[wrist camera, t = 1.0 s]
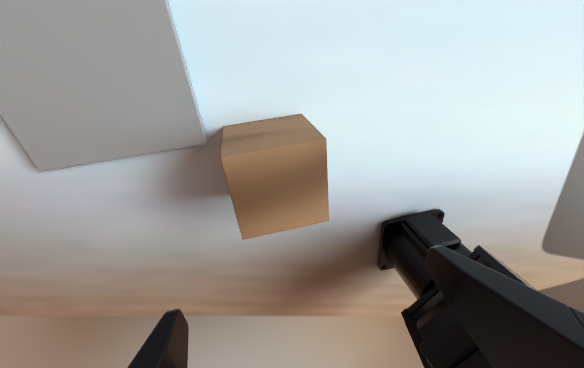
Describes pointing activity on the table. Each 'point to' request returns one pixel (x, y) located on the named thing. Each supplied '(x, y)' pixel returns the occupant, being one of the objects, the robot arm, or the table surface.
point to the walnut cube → (276, 174)
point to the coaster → (94, 81)
